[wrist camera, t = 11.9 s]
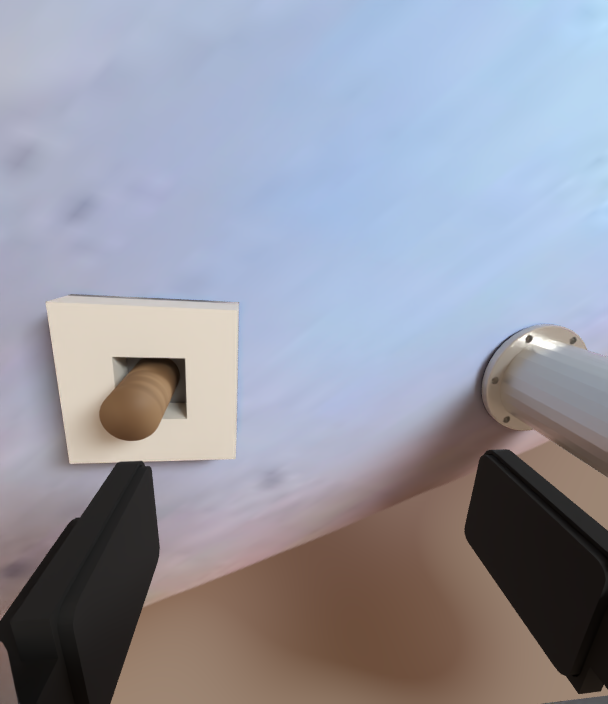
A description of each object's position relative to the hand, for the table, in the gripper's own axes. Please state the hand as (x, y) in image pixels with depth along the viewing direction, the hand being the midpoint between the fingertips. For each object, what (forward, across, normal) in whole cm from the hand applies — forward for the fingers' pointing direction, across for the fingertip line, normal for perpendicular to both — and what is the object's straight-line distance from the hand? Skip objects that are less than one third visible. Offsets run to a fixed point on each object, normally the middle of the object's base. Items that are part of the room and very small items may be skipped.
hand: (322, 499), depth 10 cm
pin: (+23, +11, +5) cm, 26 cm away
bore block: (+24, +11, +5) cm, 27 cm away
